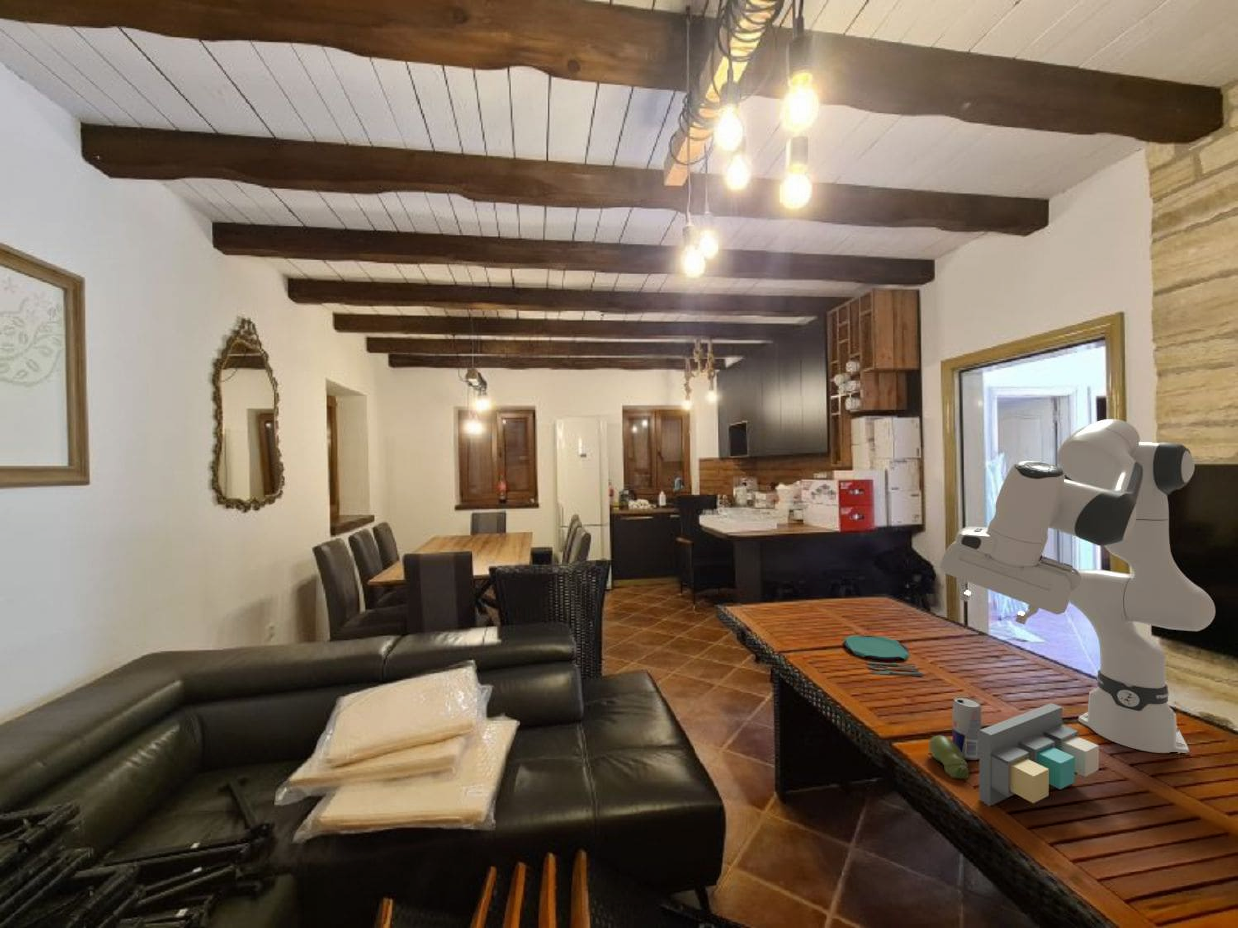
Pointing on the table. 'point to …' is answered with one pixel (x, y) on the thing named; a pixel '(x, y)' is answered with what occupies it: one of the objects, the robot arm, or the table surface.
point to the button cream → (1082, 754)
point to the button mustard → (1029, 780)
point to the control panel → (1017, 747)
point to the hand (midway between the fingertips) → (991, 610)
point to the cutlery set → (880, 652)
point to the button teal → (1057, 766)
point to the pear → (949, 756)
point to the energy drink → (967, 726)
